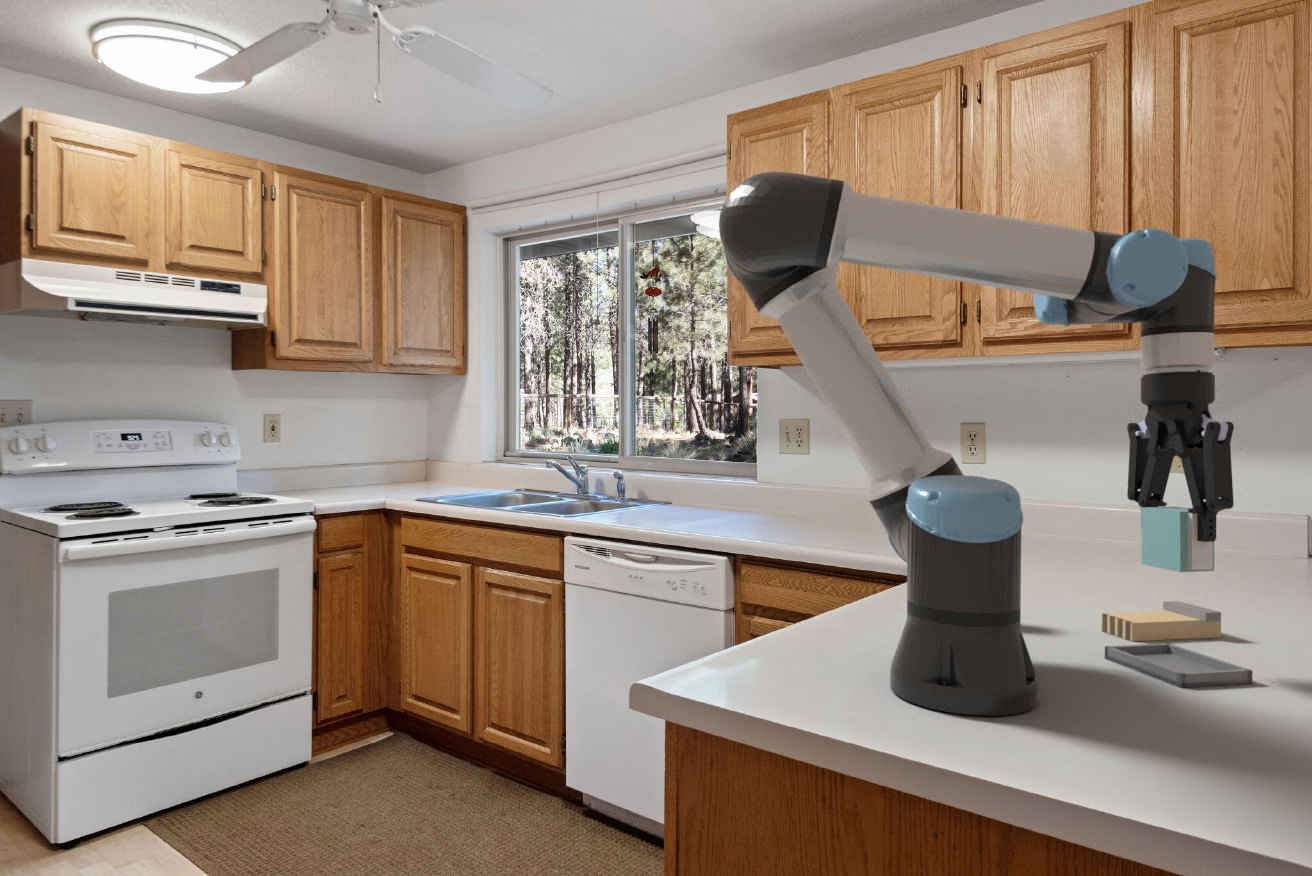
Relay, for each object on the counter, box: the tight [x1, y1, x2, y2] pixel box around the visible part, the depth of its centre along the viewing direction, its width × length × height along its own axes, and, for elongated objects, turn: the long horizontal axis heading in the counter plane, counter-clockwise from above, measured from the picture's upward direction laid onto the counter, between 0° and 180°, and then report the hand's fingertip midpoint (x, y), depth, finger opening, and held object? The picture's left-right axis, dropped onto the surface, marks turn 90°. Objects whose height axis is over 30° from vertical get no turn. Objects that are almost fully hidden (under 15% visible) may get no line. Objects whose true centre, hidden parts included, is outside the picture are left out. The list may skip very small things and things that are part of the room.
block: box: [1141, 506, 1215, 573], centre depth 99 cm, size 4×6×7 cm
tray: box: [1104, 642, 1253, 689], centre depth 99 cm, size 9×12×2 cm
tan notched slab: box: [1100, 600, 1222, 642], centre depth 117 cm, size 14×8×4 cm, turn 100°
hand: (1177, 564), depth 99 cm, fingers closed on block, 6 cm apart
